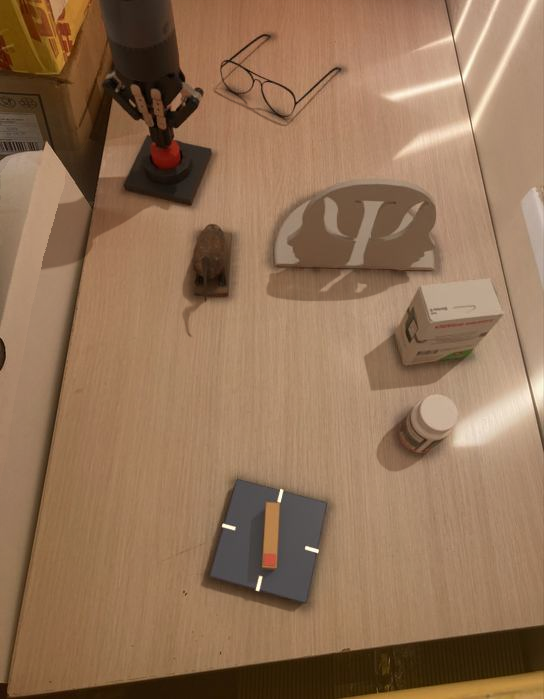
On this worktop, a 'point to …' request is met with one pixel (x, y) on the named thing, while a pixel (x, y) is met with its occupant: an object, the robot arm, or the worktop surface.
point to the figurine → (212, 262)
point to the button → (166, 156)
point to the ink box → (447, 320)
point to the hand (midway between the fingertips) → (163, 143)
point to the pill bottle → (428, 423)
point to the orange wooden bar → (270, 536)
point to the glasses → (268, 79)
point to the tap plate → (247, 541)
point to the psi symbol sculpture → (360, 228)
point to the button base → (169, 174)
